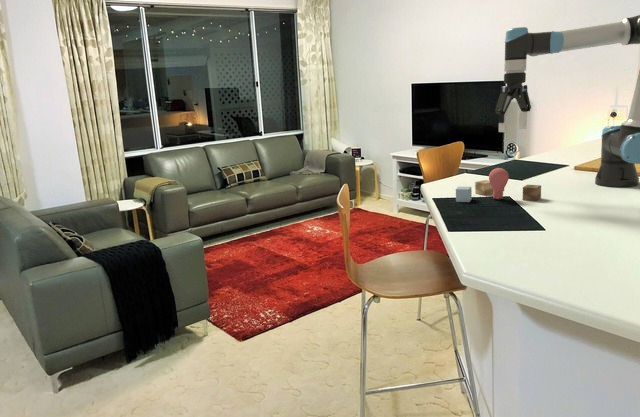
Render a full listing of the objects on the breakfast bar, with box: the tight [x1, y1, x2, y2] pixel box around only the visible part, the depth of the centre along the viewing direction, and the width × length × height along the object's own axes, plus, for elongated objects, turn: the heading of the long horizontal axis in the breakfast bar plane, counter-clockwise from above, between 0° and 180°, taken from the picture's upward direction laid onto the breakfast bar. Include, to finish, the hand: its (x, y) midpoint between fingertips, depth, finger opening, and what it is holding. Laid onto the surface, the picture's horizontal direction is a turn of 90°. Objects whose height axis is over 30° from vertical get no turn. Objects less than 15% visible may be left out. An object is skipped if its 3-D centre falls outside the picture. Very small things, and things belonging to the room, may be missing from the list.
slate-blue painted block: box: [455, 186, 472, 203], centre depth 196 cm, size 5×5×5 cm
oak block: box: [474, 179, 494, 196], centre depth 205 cm, size 5×5×5 cm
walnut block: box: [522, 184, 542, 202], centre depth 190 cm, size 5×5×5 cm
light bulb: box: [488, 167, 510, 200], centre depth 193 cm, size 7×7×12 cm
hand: (512, 130), depth 192 cm, fingers open, 13 cm apart
